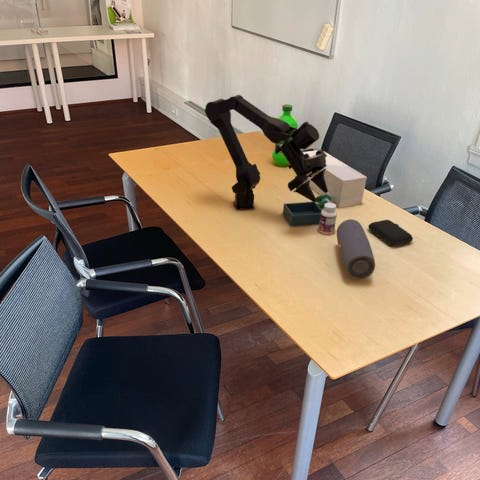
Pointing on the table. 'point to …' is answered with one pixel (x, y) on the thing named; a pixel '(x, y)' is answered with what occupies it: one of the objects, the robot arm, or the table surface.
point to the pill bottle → (328, 218)
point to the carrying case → (390, 232)
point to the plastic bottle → (279, 157)
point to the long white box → (341, 182)
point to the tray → (302, 213)
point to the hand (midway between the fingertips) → (321, 196)
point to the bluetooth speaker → (355, 249)
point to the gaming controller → (323, 200)
